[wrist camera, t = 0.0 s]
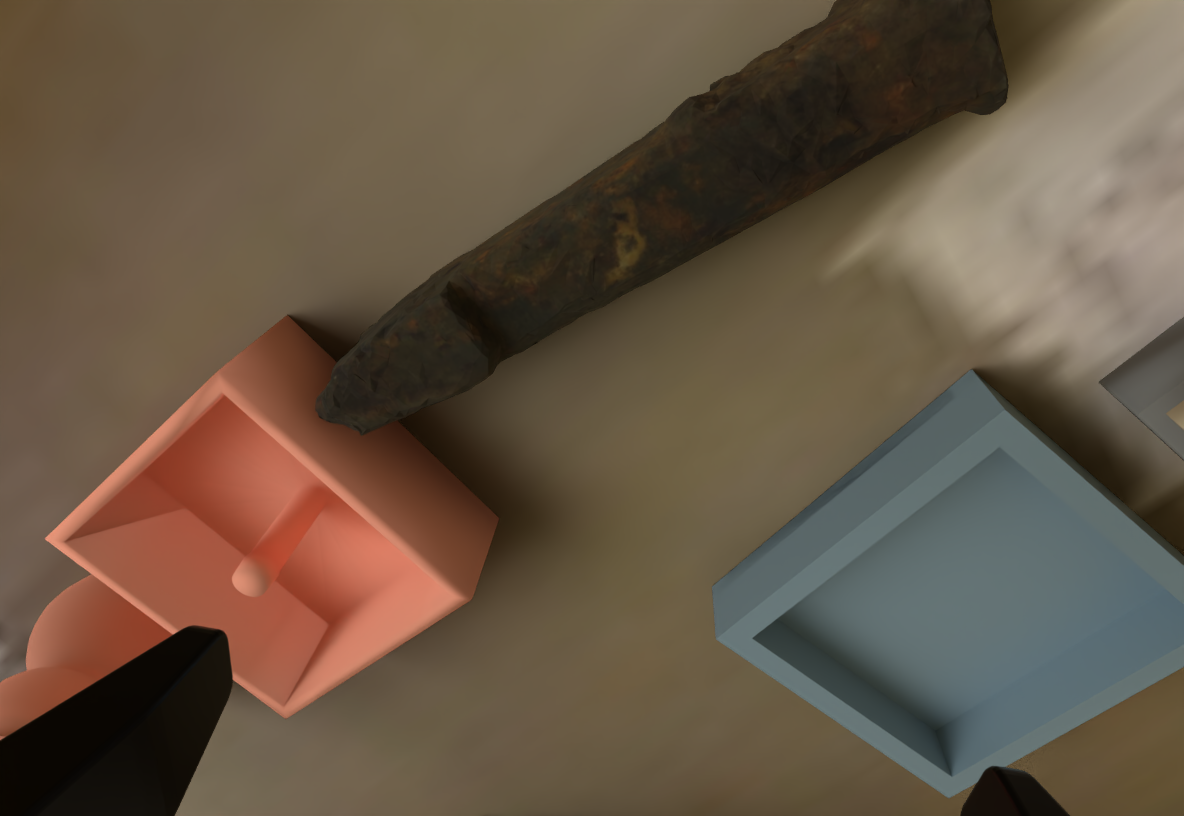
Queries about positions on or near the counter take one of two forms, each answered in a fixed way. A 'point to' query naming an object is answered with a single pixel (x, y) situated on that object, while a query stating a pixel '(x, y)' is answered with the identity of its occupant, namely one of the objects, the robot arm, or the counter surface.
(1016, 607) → the tray
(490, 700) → the counter surface
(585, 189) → the hand tool
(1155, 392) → the beige pillar on base
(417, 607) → the pottery
